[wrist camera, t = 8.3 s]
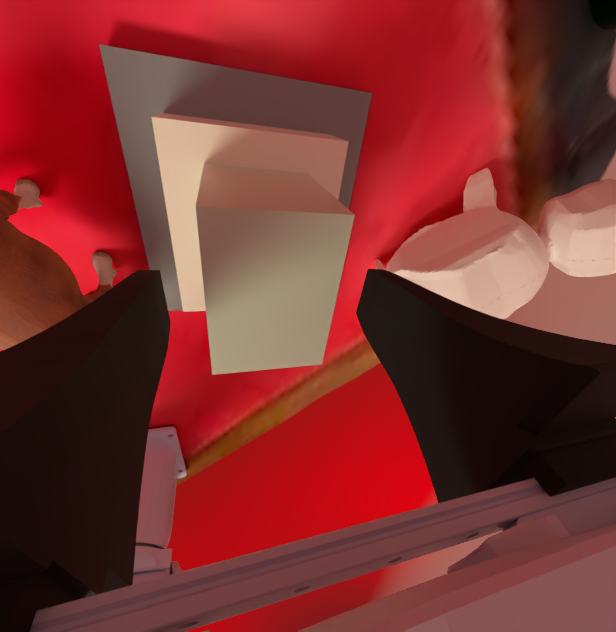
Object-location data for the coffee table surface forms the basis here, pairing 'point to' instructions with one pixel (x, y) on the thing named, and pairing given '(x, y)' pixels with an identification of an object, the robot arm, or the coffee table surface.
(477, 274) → the white lumpy shape
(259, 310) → the sage brick
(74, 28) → the coffee table surface
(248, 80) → the tower base
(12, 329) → the bull figurine
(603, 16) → the soda can
